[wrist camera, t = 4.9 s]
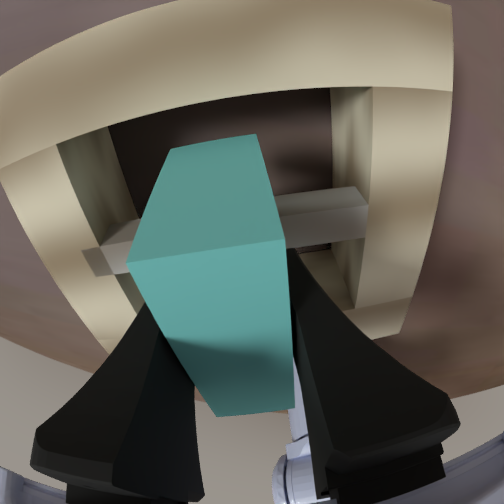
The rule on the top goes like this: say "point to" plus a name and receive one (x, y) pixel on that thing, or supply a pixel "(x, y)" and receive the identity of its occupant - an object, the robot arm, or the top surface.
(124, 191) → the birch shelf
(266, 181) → the teal block
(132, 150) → the top surface
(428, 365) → the top surface
